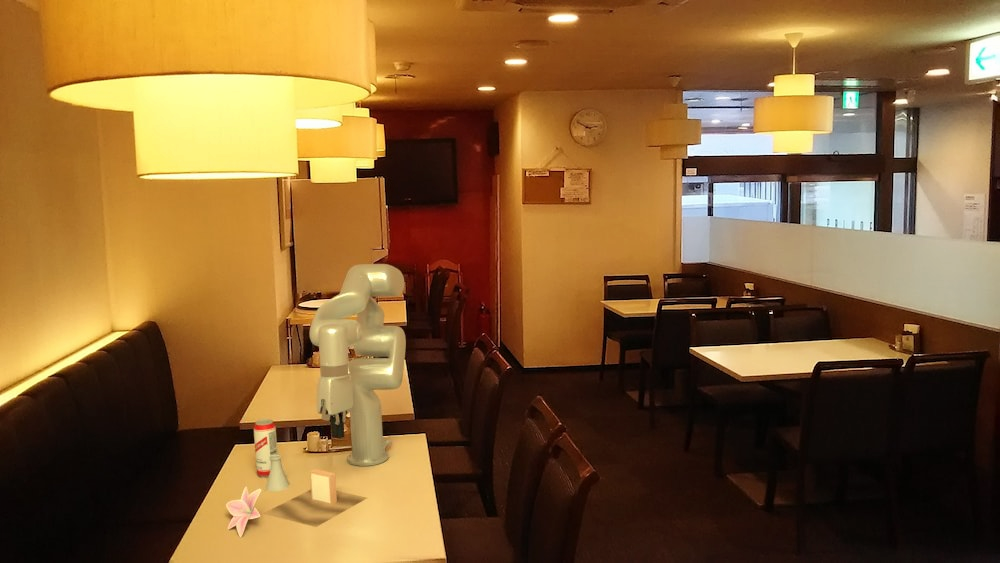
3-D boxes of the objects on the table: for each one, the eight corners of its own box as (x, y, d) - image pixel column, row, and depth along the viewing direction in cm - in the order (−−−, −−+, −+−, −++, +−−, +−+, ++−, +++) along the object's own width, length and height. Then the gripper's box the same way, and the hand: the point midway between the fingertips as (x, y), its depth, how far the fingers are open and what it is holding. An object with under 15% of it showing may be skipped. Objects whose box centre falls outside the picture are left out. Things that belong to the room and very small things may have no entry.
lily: (228, 522, 212) (212, 498, 206) (271, 498, 215) (255, 474, 209) (238, 553, 202) (221, 529, 197) (282, 528, 205) (266, 503, 200)
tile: (316, 497, 220) (315, 469, 219) (336, 502, 217) (335, 473, 216) (311, 500, 218) (309, 471, 217) (331, 505, 215) (329, 476, 214)
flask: (283, 496, 225) (281, 461, 223) (259, 495, 226) (257, 460, 225) (295, 486, 232) (293, 452, 230) (271, 485, 233) (269, 451, 232)
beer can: (268, 479, 238) (265, 426, 235) (252, 476, 240) (248, 423, 238) (283, 472, 243) (279, 419, 241) (266, 469, 246) (263, 417, 244)
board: (317, 490, 228) (316, 486, 228) (367, 502, 219) (367, 497, 219) (263, 517, 211) (263, 513, 211) (316, 531, 202) (315, 526, 202)
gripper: (342, 363, 227) (345, 428, 229) (304, 375, 214) (308, 443, 216) (363, 366, 223) (366, 431, 225) (326, 377, 211) (329, 447, 213)
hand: (338, 437), depth 221 cm, fingers closed
